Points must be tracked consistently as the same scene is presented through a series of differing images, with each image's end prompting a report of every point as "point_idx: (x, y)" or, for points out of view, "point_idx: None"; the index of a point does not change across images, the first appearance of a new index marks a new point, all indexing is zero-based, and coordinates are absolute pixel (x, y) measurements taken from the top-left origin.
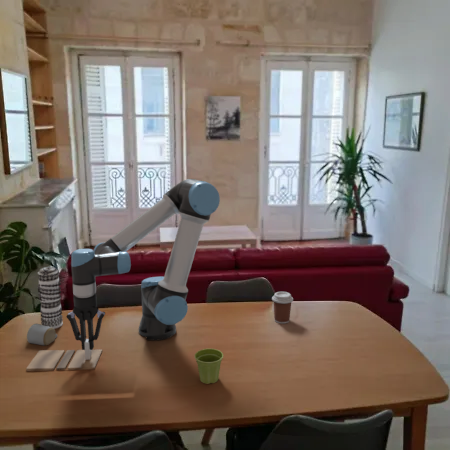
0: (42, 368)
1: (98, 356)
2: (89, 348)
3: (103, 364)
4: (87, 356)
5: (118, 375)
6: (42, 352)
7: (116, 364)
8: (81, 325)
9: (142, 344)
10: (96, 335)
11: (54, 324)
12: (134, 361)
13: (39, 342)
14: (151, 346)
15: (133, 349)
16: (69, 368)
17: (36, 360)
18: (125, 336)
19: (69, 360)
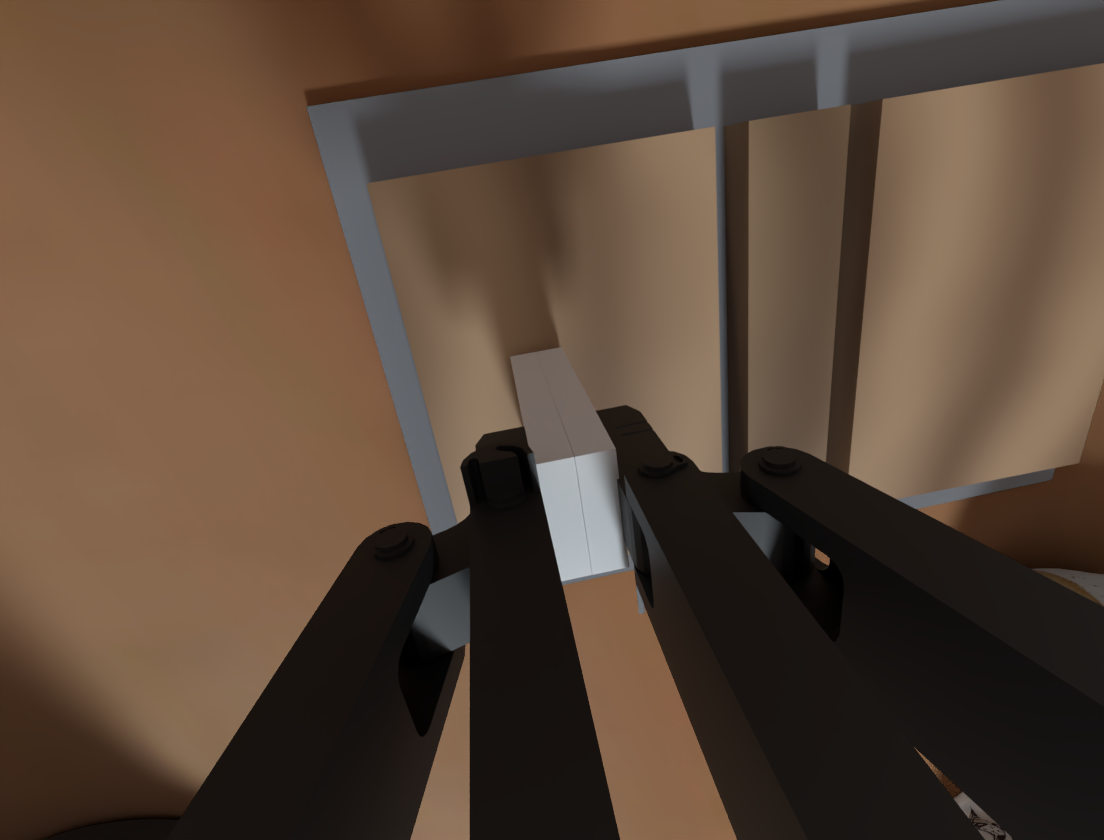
0: (1012, 79)
1: (446, 449)
2: (524, 428)
3: (361, 365)
4: (539, 363)
5: (6, 120)
6: (1047, 431)
7: (209, 384)
8: (895, 810)
9: (175, 752)
10: (355, 597)
11: (992, 820)
12: (36, 472)
13: (1096, 576)
14: (61, 743)
15: (208, 669)
16: (687, 132)
17: (1095, 261)
18: None
19: (743, 331)
